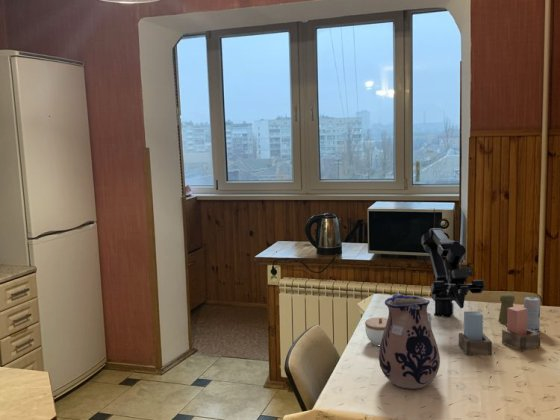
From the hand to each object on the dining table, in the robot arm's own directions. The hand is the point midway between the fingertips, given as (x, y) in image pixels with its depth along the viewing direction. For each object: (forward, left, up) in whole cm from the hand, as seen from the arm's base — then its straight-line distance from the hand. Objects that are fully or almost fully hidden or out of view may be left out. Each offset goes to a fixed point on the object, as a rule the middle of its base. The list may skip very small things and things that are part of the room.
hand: (462, 307), depth 199 cm
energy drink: (+22, +16, -11) cm, 29 cm away
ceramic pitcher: (-9, -44, -11) cm, 47 cm away
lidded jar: (-25, -18, -11) cm, 33 cm away
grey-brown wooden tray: (+20, -1, -10) cm, 22 cm away
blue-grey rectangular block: (+5, -11, -10) cm, 16 cm away
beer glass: (-9, -26, -11) cm, 30 cm away
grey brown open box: (+6, -12, -10) cm, 17 cm away
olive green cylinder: (+13, +22, -11) cm, 27 cm away
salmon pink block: (+18, 0, -10) cm, 21 cm away
